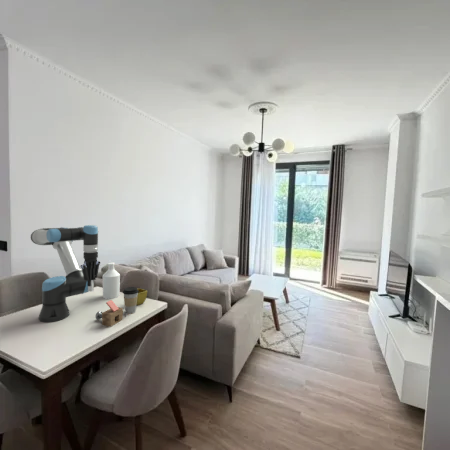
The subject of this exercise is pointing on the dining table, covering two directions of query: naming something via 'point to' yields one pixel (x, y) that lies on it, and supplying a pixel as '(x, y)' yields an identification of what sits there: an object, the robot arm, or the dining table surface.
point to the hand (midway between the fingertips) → (90, 290)
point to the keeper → (112, 305)
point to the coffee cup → (130, 299)
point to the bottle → (111, 283)
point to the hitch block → (112, 317)
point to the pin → (99, 315)
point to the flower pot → (141, 296)
